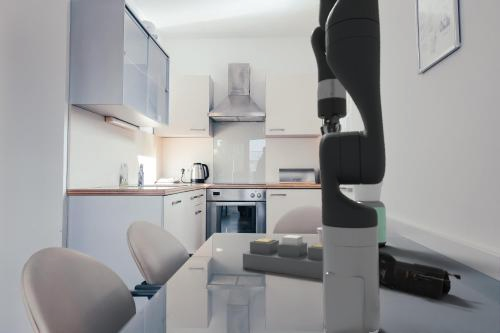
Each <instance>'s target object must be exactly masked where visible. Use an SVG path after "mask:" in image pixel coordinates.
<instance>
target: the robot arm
mask: <svg viewBox="0 0 500 333" xmlns="http://www.w3.org/2000/svg"><path fill="white" fill-rule="evenodd" d="M318 1H319V3H318V26H317V27H315V28H313V30H312V32H311V35H310V45H311V48H312V51H313V54H314V56H315V60H316V67H317V85H318V86H317V91H316V92H317V93H316V96H317V100H316V102H317V104H316V105H317V118H319V119H320V120H323V124H322V126H320V133H321V138H320V141H319V145H318V146H319V147H318V162H319V163H318V165H319V173H320V174H319V175H320V186H321V187H320V189H321V227H322V252H323V279H322V300H323V301H322V302H323V307H322V308H323V326H324V327H325V333H369V332H374V331H376V330H378V329H379V328H380V329H381V303H380V302H381V301H380V300H381V298H380V297H381V295H380V282H379V255H378V250H379V246H378V215H377V211H376V210H375V209H374V208H373V207H370V206H367V205H364V204H361V203H358V202H356V200H355V199H354V200H353V199H351V198H350V197H348V196H347V195H345V193H343V192H342V191H341V189H340V186H353V185H360V184H361V185H374V184H379V183H381V182H382V180H383V181H384V178H385V174H386V165H387V163H386V161H387V159H386V143H385V133H384V132H385V131H384V122H383V121H384V119H383V110H382V98H381V24H380V23H381V21H380V9H379V6H380V5H379V0H318ZM347 94H348V95H349V96H350V98H351V100H352V102H353V103H354V105H355V107H356V108H357V110H358V113H359V115H360V118H361V120H362V124H363V127H364V129H363V130H360V131H359V130H355V131H352V130H351V131H342V124H340V123H341V122H340V120H341V119H344V118H346V116H348V113H347V111H348V108H347V106H348V105H347V104H348V103H347Z"/></svg>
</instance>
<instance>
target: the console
mask: <svg viewBox="0 0 500 333" xmlns="http://www.w3.org/2000/svg"><path fill="white" fill-rule="evenodd" d="M255 240H256V239H254V240H252V241H250V242H249V251H247V252H243V253H242V268H243V269H249V270H255V271H263V272H271V273H279V274H284V275H291V276H292V275H293V276H298V277H299V276H300V277H306V278H313V279H314V278H315V279H320V280H323V252H322V248H314V247H313V246H314V245H316V244H317V243H314V244H312V245H310V246H308V242H304V241H303V244H301V245H299V246H293V245H282V242H280V240H279V239H274V241H273V242H270V243H261V242H255Z"/></svg>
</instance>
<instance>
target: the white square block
mask: <svg viewBox="0 0 500 333" xmlns="http://www.w3.org/2000/svg"><path fill="white" fill-rule="evenodd" d="M303 242H304V241H303V235H295V234H287V235H284V236H282V237H281V243H282V245H293V246H299V245H301V244H303Z"/></svg>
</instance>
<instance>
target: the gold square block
mask: <svg viewBox="0 0 500 333" xmlns="http://www.w3.org/2000/svg"><path fill="white" fill-rule="evenodd" d="M254 240H255V242H261V243H270V242H273V241H274V240H275V239H273V238H259V239H254Z"/></svg>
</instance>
